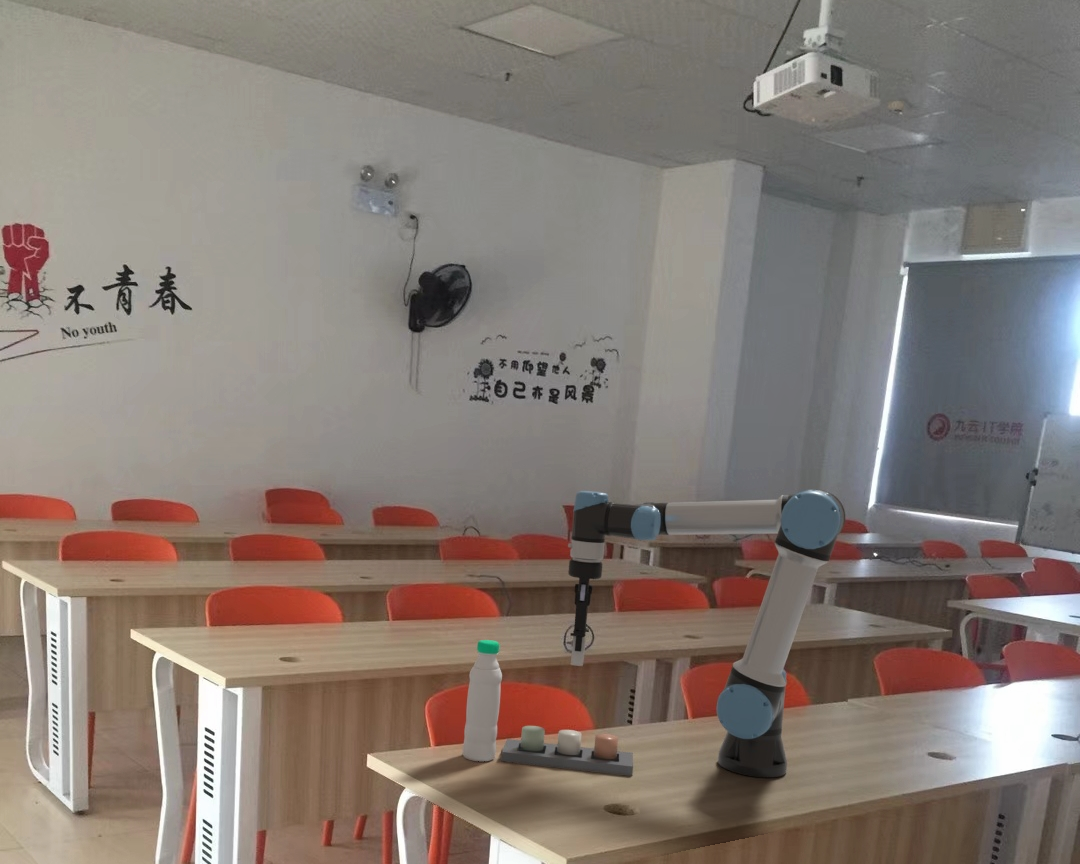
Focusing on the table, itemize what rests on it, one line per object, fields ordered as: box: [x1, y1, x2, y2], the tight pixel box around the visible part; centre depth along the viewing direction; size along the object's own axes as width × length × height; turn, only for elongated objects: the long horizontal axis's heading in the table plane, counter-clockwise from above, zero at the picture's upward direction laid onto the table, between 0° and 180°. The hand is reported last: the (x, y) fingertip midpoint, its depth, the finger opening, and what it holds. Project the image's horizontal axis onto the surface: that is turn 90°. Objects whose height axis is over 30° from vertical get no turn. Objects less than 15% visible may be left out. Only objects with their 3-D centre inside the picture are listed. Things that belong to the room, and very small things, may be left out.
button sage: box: [520, 725, 546, 751], centre depth 231 cm, size 5×5×4 cm
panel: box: [500, 738, 634, 777], centre depth 230 cm, size 28×10×2 cm, turn 85°
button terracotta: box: [593, 733, 619, 759], centre depth 229 cm, size 5×5×4 cm
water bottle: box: [462, 639, 503, 763], centre depth 228 cm, size 7×7×25 cm
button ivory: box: [557, 729, 582, 755], centre depth 230 cm, size 5×5×4 cm
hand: (577, 662), depth 239 cm, fingers open, 4 cm apart
